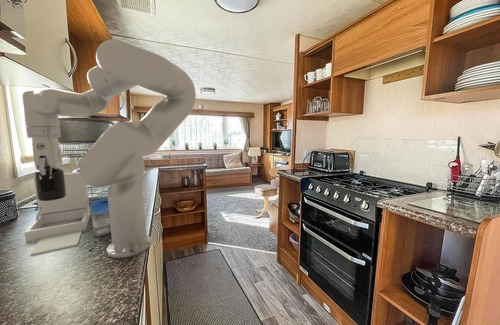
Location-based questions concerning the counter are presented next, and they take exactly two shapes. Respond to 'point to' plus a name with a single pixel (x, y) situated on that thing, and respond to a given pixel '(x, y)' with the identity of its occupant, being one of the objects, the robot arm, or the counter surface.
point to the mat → (57, 243)
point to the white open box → (62, 211)
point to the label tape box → (100, 217)
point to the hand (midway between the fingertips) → (51, 188)
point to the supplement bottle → (59, 186)
